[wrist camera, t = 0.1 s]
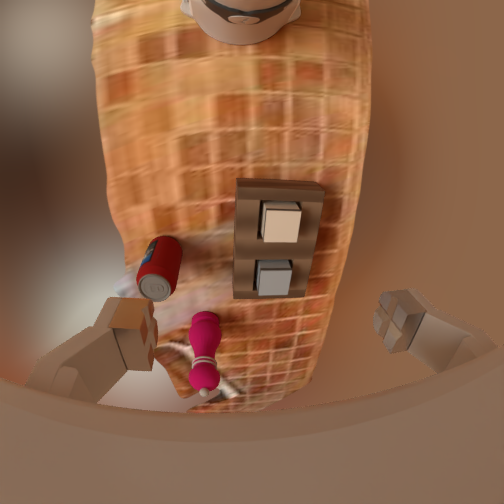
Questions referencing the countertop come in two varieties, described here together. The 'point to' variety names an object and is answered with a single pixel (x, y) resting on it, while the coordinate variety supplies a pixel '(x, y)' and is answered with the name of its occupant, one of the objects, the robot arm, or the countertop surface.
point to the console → (253, 247)
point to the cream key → (279, 221)
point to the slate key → (273, 277)
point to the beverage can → (159, 269)
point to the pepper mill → (204, 352)
